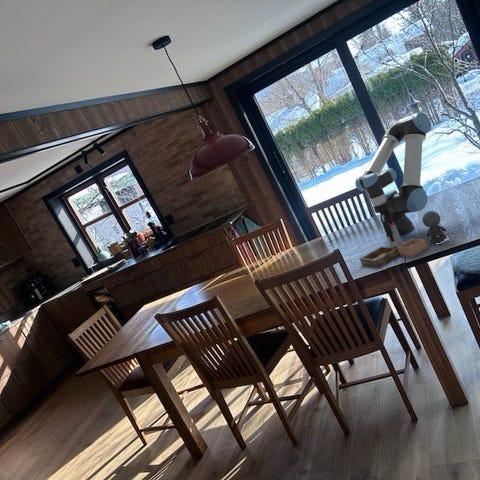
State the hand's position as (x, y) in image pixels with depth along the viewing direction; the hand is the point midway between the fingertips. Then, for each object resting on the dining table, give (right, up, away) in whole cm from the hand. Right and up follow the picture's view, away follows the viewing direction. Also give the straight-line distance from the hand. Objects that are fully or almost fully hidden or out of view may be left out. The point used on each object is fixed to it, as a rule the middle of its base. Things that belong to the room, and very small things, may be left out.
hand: (396, 243), depth 226 cm
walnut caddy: (-10, -8, -8) cm, 15 cm away
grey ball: (+2, -3, -18) cm, 19 cm away
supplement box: (+1, -1, 0) cm, 1 cm away
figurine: (+14, +1, -18) cm, 23 cm away
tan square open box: (+2, -4, -18) cm, 19 cm away
